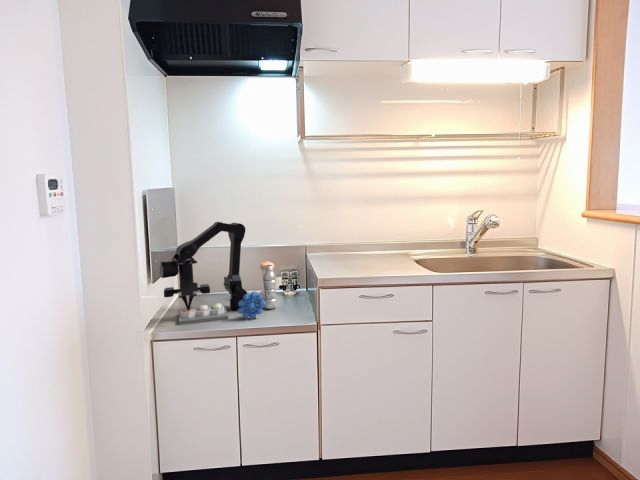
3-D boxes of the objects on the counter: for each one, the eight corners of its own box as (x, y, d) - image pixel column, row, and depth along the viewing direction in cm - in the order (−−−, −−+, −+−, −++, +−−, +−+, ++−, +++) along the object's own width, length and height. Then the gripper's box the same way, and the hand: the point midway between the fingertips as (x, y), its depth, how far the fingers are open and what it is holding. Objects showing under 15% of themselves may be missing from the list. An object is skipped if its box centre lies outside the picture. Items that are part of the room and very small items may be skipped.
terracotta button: (193, 313, 189) (193, 307, 189) (193, 316, 185) (193, 310, 185) (183, 314, 188) (183, 308, 188) (183, 317, 184) (183, 311, 184)
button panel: (225, 309, 198) (224, 302, 198) (228, 319, 185) (227, 311, 185) (179, 314, 192) (178, 307, 192) (179, 324, 179) (178, 316, 179)
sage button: (221, 308, 193) (221, 302, 192) (222, 310, 189) (221, 305, 188) (212, 309, 191) (211, 303, 191) (212, 311, 188) (212, 306, 187)
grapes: (265, 314, 190) (264, 288, 188) (266, 319, 184) (265, 292, 182) (238, 316, 188) (237, 289, 187) (238, 321, 182) (236, 293, 180)
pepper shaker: (261, 296, 218) (259, 259, 215) (275, 296, 219) (274, 259, 216) (260, 301, 211) (259, 262, 208) (275, 300, 212) (274, 261, 209)
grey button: (207, 309, 191) (207, 304, 190) (207, 312, 187) (207, 306, 187) (198, 310, 190) (197, 305, 189) (198, 313, 186) (198, 307, 186)
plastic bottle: (265, 311, 195) (264, 267, 192) (261, 307, 201) (259, 265, 198) (279, 309, 198) (277, 266, 195) (274, 305, 204) (273, 263, 201)
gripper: (161, 280, 174) (164, 318, 176) (209, 276, 179) (211, 313, 182) (163, 274, 184) (165, 310, 187) (208, 271, 190) (210, 305, 192)
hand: (188, 309), depth 186 cm, fingers closed, pressing on terracotta button
